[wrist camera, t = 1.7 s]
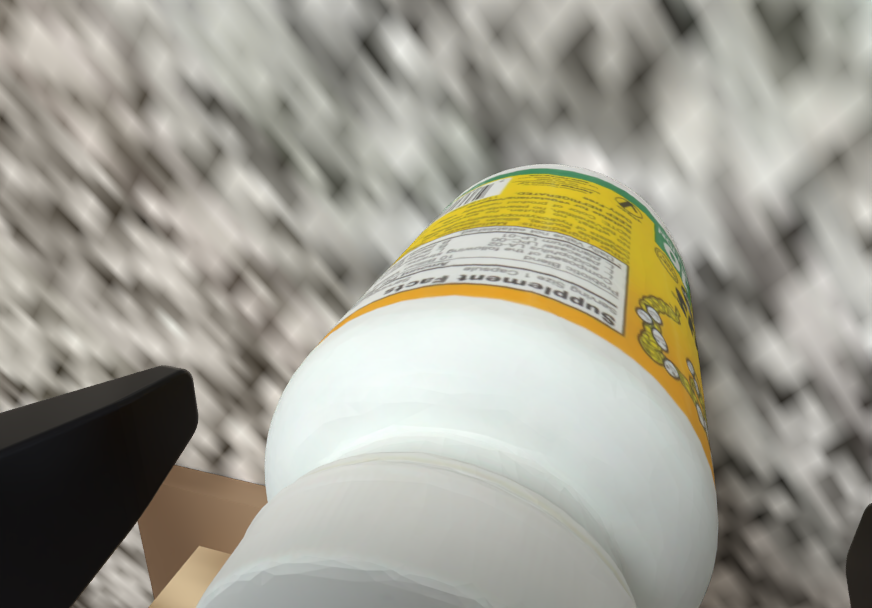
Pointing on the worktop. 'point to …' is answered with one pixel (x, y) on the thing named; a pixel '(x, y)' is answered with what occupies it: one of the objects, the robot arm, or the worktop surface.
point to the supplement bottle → (497, 421)
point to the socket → (194, 532)
